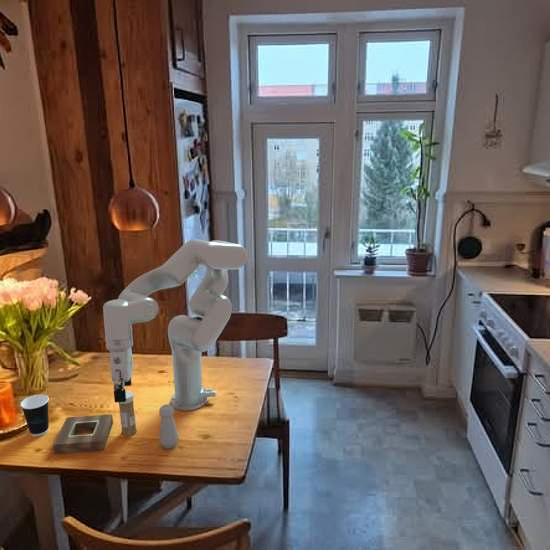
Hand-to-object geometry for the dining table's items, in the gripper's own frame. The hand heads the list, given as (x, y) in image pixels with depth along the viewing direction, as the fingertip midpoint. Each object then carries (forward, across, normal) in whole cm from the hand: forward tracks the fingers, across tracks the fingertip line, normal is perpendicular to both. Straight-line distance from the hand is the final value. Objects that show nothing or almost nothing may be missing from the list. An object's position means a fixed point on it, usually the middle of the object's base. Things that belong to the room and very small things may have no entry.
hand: (123, 393), depth 145 cm
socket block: (+14, 0, +12) cm, 19 cm away
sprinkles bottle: (+14, +1, -1) cm, 14 cm away
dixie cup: (+15, +5, +27) cm, 31 cm away
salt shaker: (+14, -7, -14) cm, 21 cm away
